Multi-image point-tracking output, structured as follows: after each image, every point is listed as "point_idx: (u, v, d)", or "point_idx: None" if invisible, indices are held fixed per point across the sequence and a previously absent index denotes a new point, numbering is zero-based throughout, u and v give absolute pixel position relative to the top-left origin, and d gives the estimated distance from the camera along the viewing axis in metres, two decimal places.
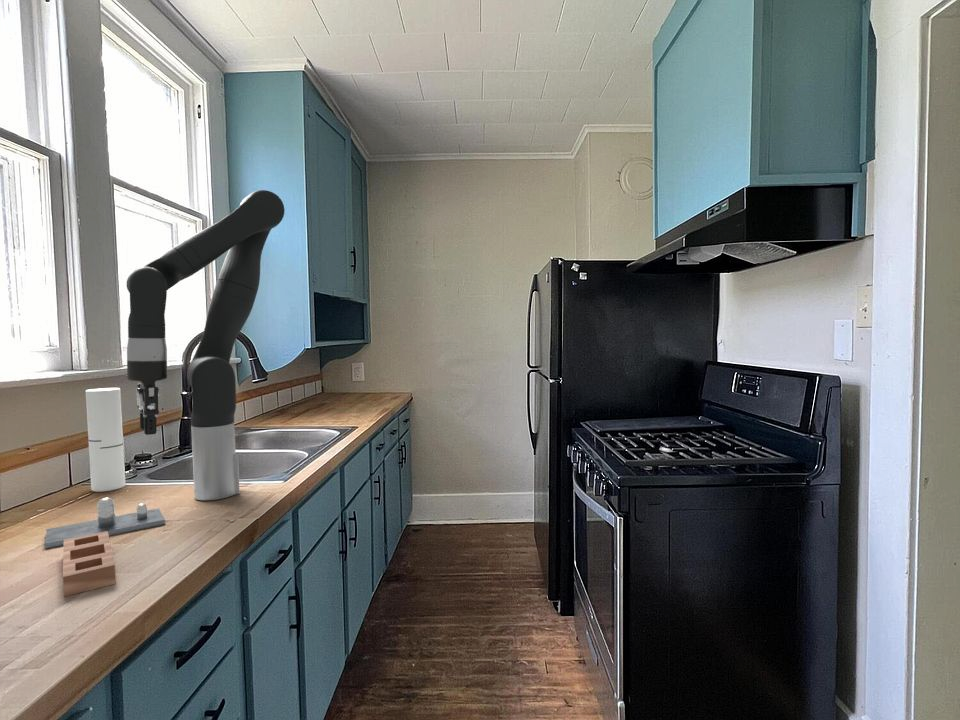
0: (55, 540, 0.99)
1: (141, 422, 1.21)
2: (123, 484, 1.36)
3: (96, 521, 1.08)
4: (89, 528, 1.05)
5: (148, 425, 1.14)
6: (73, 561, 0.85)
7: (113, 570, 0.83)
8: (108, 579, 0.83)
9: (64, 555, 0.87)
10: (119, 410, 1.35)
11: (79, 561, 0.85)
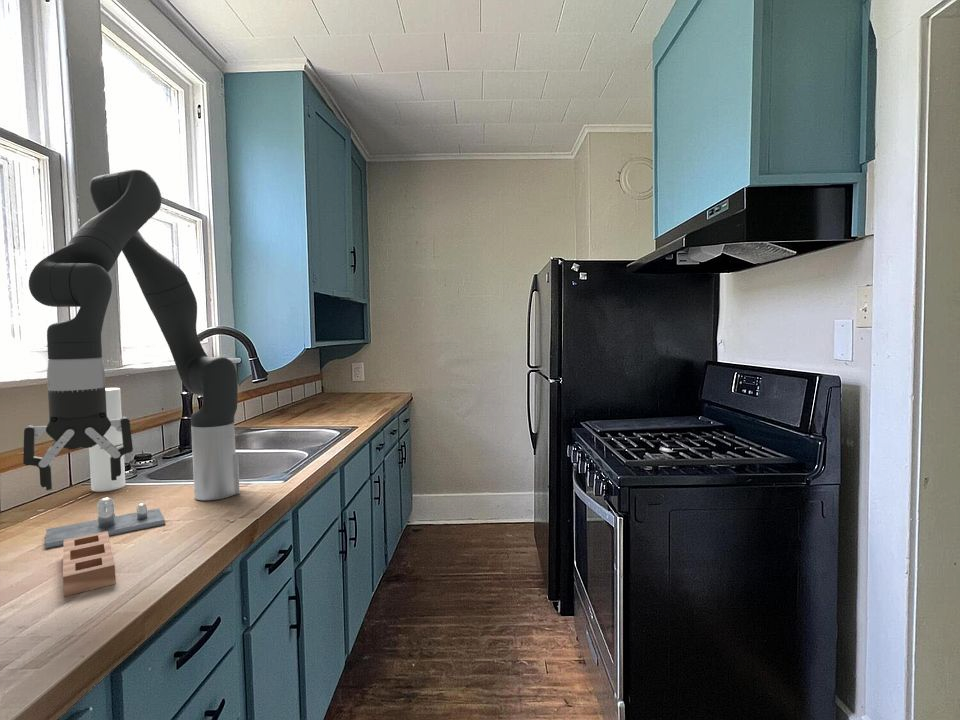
0: (55, 540, 0.99)
1: (51, 479, 0.85)
2: (123, 484, 1.36)
3: (96, 521, 1.08)
4: (89, 528, 1.05)
5: None
6: (73, 561, 0.85)
7: (113, 570, 0.83)
8: (108, 579, 0.83)
9: (64, 555, 0.87)
10: (119, 410, 1.35)
11: (79, 561, 0.85)
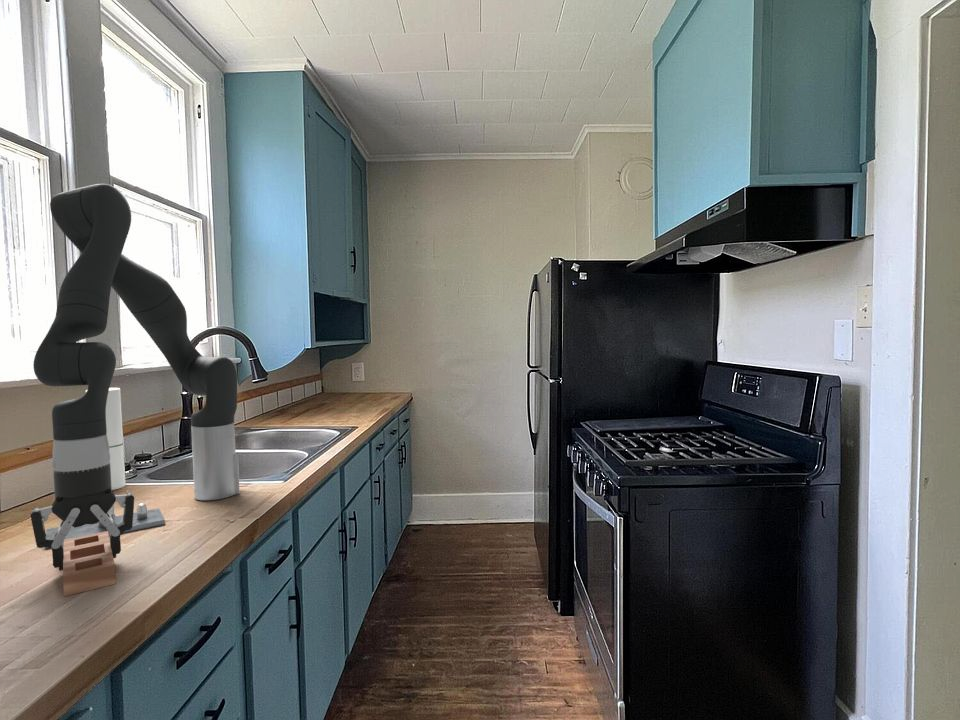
0: None
1: None
2: (123, 484, 1.36)
3: None
4: (89, 528, 1.05)
5: None
6: (73, 561, 0.85)
7: (113, 570, 0.83)
8: (108, 579, 0.83)
9: (64, 555, 0.87)
10: (119, 410, 1.35)
11: (79, 561, 0.85)
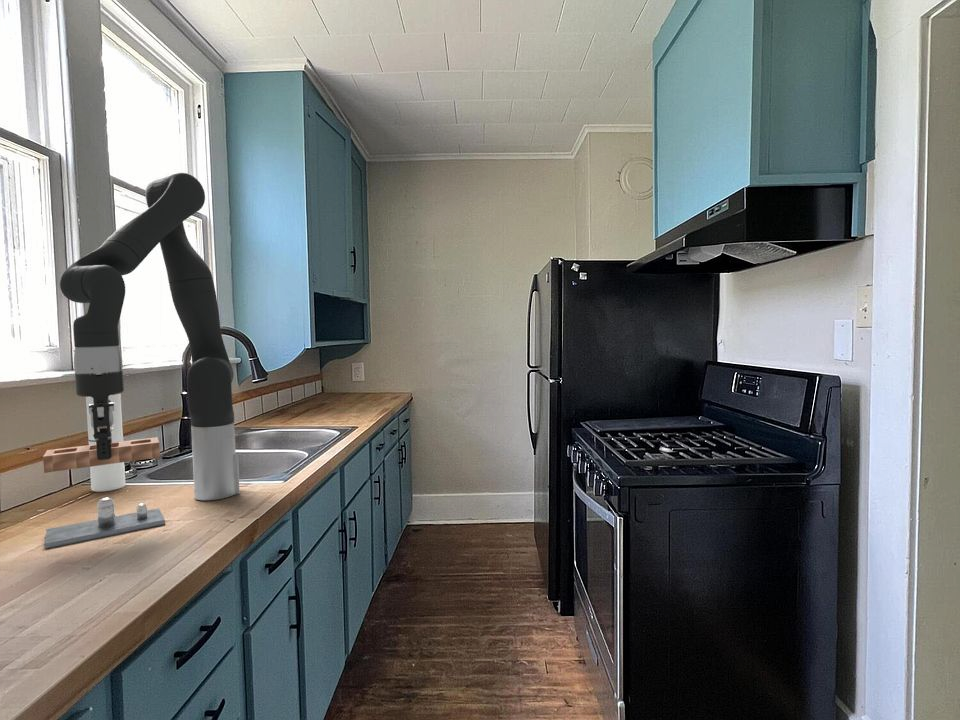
0: (55, 540, 0.99)
1: None
2: (123, 484, 1.36)
3: (96, 521, 1.08)
4: (89, 528, 1.05)
5: None
6: (124, 445, 1.04)
7: None
8: None
9: None
10: (119, 410, 1.35)
11: (128, 444, 1.05)
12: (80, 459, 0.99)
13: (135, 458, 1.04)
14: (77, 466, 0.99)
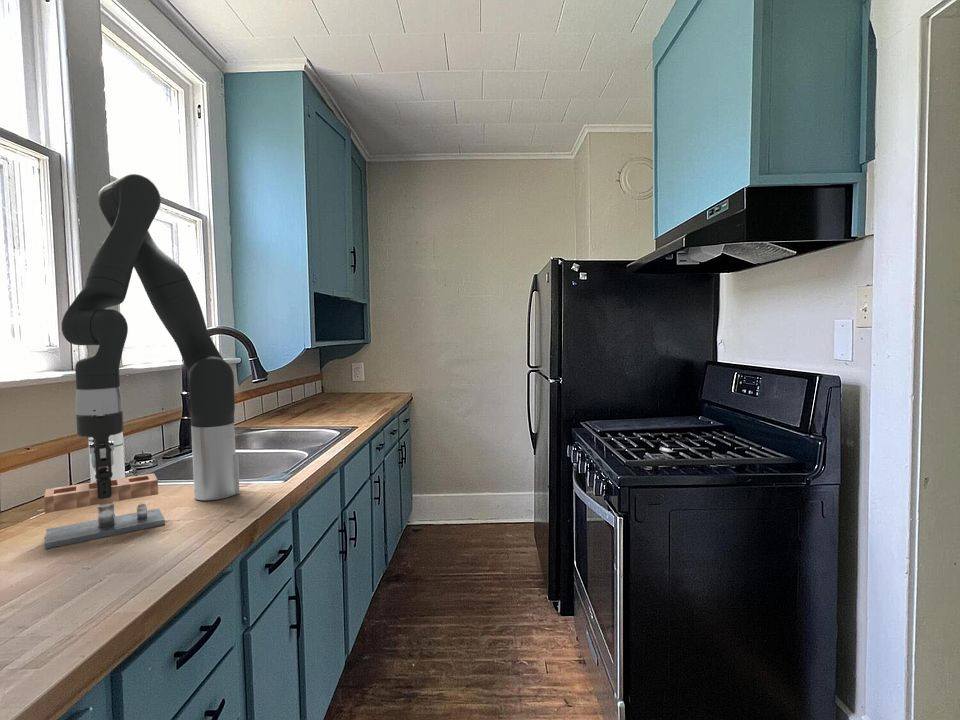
0: (55, 540, 0.99)
1: None
2: None
3: (96, 521, 1.08)
4: (89, 528, 1.05)
5: None
6: (123, 483, 1.07)
7: None
8: None
9: None
10: None
11: (126, 482, 1.08)
12: (80, 498, 1.02)
13: (133, 496, 1.07)
14: (77, 505, 1.02)
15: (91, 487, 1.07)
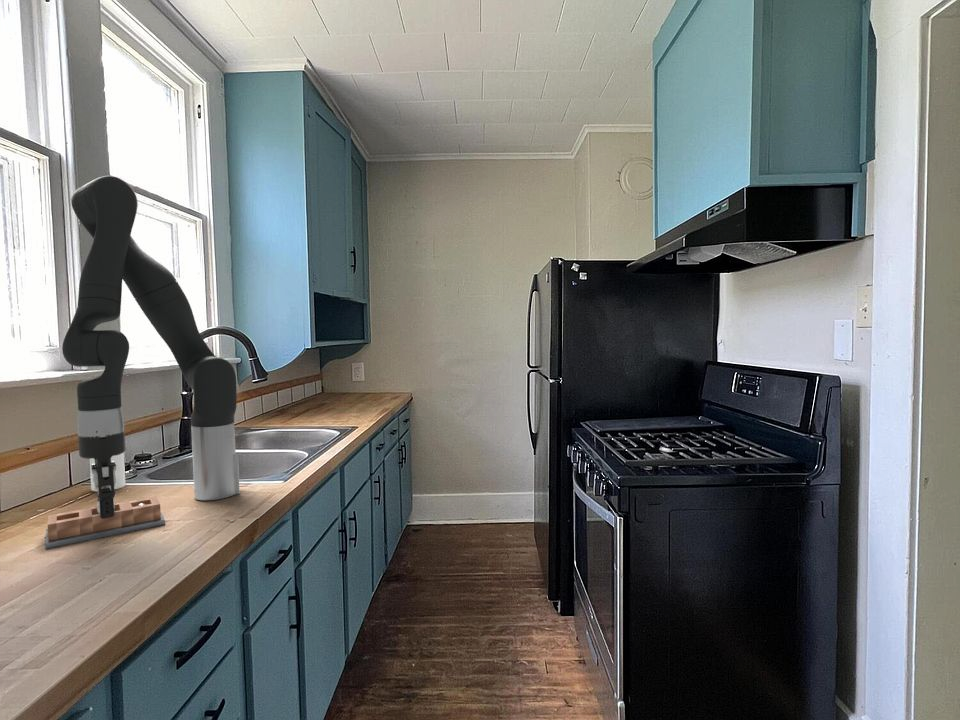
0: (55, 540, 0.99)
1: None
2: (123, 484, 1.36)
3: None
4: None
5: None
6: (126, 508, 1.07)
7: None
8: None
9: None
10: None
11: (129, 506, 1.08)
12: (83, 525, 1.02)
13: (136, 521, 1.07)
14: (80, 532, 1.02)
15: (93, 512, 1.07)
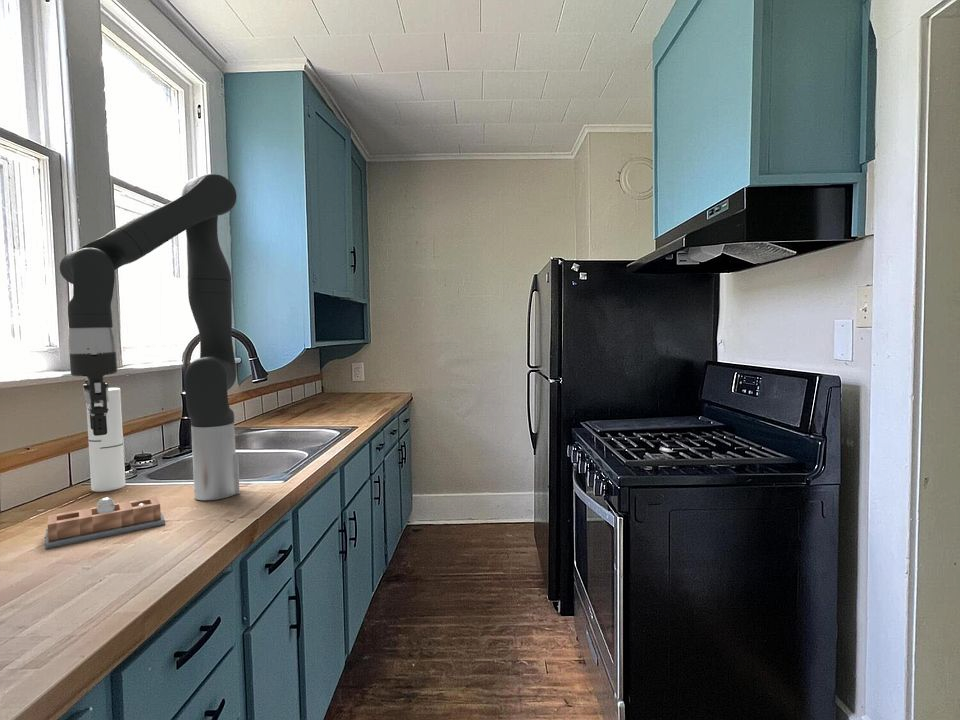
0: (55, 540, 0.99)
1: None
2: (123, 484, 1.36)
3: None
4: None
5: None
6: (126, 508, 1.07)
7: None
8: None
9: (103, 514, 1.04)
10: (119, 410, 1.35)
11: (129, 506, 1.08)
12: (83, 525, 1.02)
13: (136, 521, 1.07)
14: (80, 532, 1.02)
15: (93, 512, 1.07)
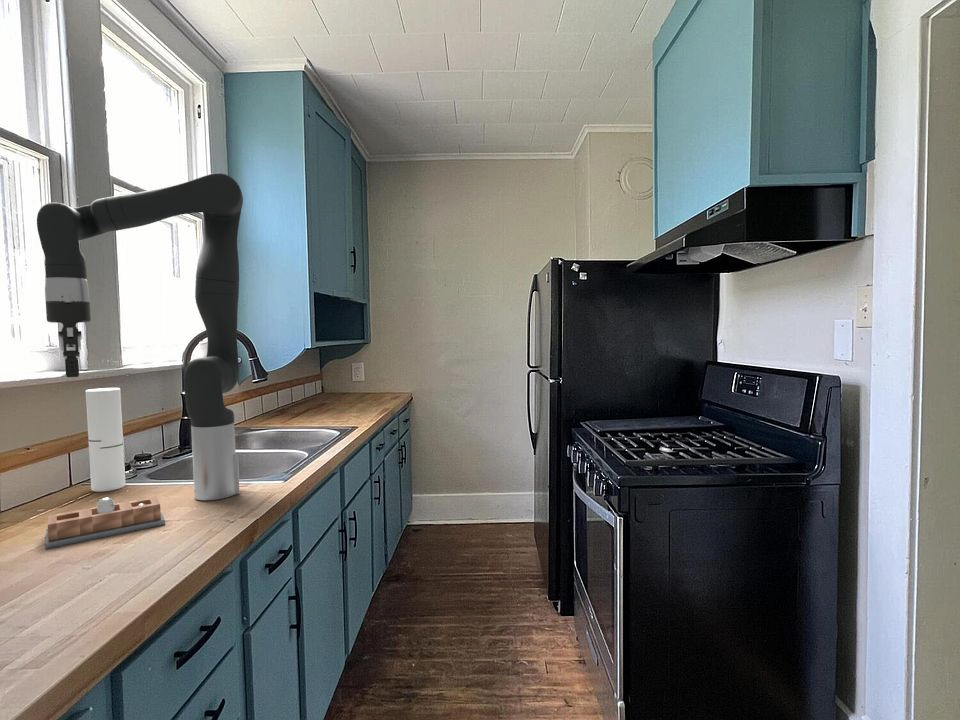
0: (55, 540, 0.99)
1: None
2: (123, 484, 1.36)
3: None
4: None
5: None
6: (126, 508, 1.07)
7: None
8: None
9: (103, 514, 1.04)
10: (119, 410, 1.35)
11: (129, 506, 1.08)
12: (83, 525, 1.02)
13: (136, 521, 1.07)
14: (80, 532, 1.02)
15: (93, 512, 1.07)
